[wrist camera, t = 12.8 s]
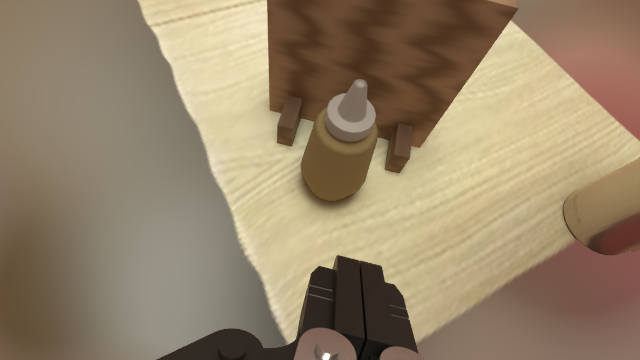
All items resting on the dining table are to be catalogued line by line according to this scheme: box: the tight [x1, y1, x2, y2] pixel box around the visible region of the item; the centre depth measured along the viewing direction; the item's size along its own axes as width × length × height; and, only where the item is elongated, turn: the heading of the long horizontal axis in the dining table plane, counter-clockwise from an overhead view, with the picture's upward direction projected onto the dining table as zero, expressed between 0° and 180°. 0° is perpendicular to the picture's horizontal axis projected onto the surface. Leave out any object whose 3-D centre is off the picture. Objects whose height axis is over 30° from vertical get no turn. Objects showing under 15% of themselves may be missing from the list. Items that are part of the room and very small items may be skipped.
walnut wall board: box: [267, 0, 519, 173], centre depth 37 cm, size 22×7×22 cm, turn 78°
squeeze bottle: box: [301, 79, 378, 201], centre depth 36 cm, size 8×8×18 cm
